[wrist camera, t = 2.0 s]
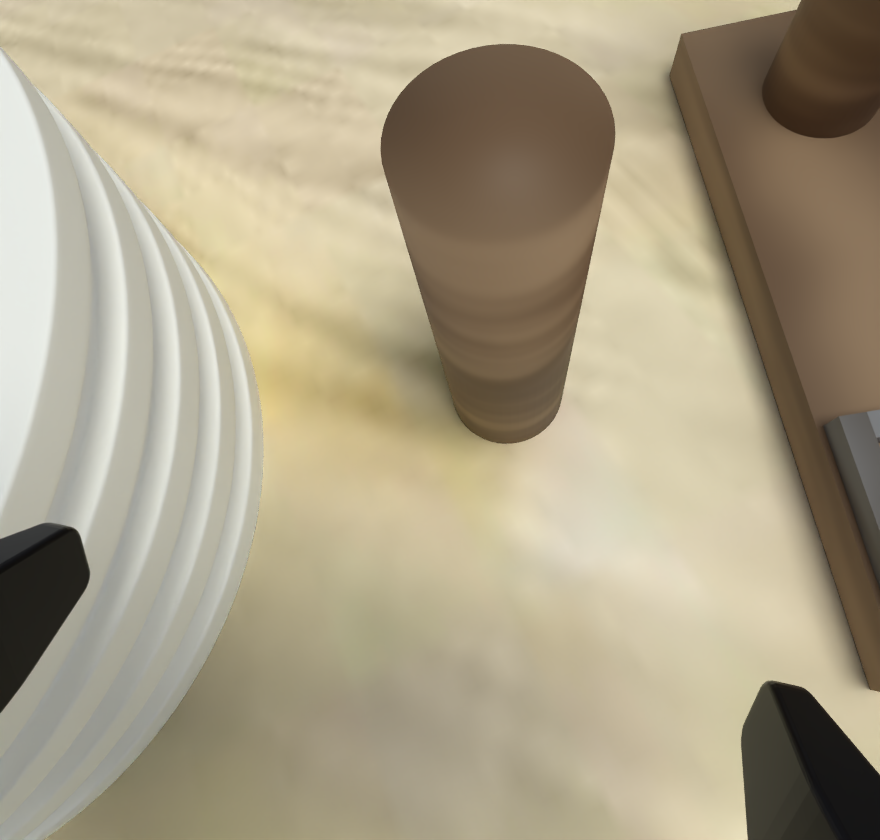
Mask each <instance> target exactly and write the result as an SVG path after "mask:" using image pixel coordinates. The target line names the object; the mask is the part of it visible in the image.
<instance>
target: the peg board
mask: <svg viewBox="0 0 880 840" xmlns="http://www.w3.org/2000/svg"><path fill="white" fill-rule="evenodd" d="M670 79H671V82H672V85H673V88H674V91H675V94H676V97H677V100H678V103H679V106H680V109H681V112H682V115H683V118H684V121H685V125H686V128H687V131H688V134H689V137H690V140H691V143H692V146H693V149H694V152H695V155H696V158H697V161H698V164H699V167H700V170H701V173H702V177H703V180H704V183H705V186H706V189H707V192H708V195H709V198H710V201H711V204H712V207H713V210H714V213H715V216H716V219H717V222H718V225H719V229H720V232H721V235H722V238H723V241H724V244H725V247H726V250H727V253H728V256H729V259H730V262H731V265H732V268H733V271H734V274H735V277H736V281H737V284H738V287H739V290H740V293H741V296H742V299H743V302H744V305H745V308H746V311H747V314H748V317H749V320H750V323H751V326H752V329H753V333H754V336H755V339H756V342H757V345H758V348H759V351H760V354H761V357H762V360H763V363H764V366H765V369H766V372H767V375H768V378H769V381H770V385H771V388H772V391H773V394H774V397H775V400H776V403H777V406H778V409H779V412H780V415H781V418H782V421H783V424H784V427H785V430H786V433H787V437H788V440H789V443H790V446H791V449H792V452H793V455H794V458H795V461H796V464H797V467H798V470H799V473H800V476H801V479H802V482H803V485H804V489H805V492H806V495H807V498H808V501H809V504H810V507H811V510H812V513H813V516H814V519H815V522H816V525H817V528H818V531H819V534H820V537H821V541H822V544H823V547H824V550H825V553H826V556H827V559H828V562H829V565H830V568H831V571H832V574H833V577H834V580H835V583H836V586H837V589H838V593H839V596H840V599H841V602H842V605H843V608H844V611H845V614H846V617H847V620H848V623H849V626H850V629H851V632H852V635H853V638H854V642H855V645H856V648H857V651H858V654H859V657H860V660H861V663H862V666H863V669H864V672H865V675H866V678H867V681H868V684H869V687H870V690H874V691H879V692H880V0H801V2H800V4H799V6H798V8H797V10H793V11H788V12H784V13H779V14H774V15H769V16H765V17H760V18H755V19H750V20H745V21H741V22H736V23H731V24H726V25H722V26H717V27H712V28H707V29H703V30H698V31H693V32H688V33H683V34H681V37H680V41H679V44H678V48H677V51H676V55H675V58H674V62H673V65H672V69H671V72H670Z"/></svg>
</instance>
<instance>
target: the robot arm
mask: <svg viewBox="0 0 880 840" xmlns="http://www.w3.org/2000/svg"><path fill="white" fill-rule="evenodd" d="M89 579H90V568H89V565H88V561H87V558H86V554H85V550H84V547H83V543H82V539H81V536H80V534H79V532H78V531H77V530H76V529H75V528H73V527H70V526H65V525H61V524H56V523H42V524H39V525H36V526H33V527H31V528H28V529H25V530H23V531H20V532H17V533H15V534H12V535H9V536H7V537H4V538H1V539H0V713H1V712H2V711H3V710H4V708H5V707H6V706H7V705H8V703H9V702H10V701H11V699H12V698H13V697H14V695H15V694H16V693H17V691H18V690H19V689H20V687H21V686H22V685H23V683H24V682H25V680H26V679H27V677H28V676H29V675H30V673H31V672H32V670H33V669H34V667H35V666H36V664H37V663H38V661H39V660H40V658H41V657H42V655H43V654H44V652H45V651H46V649H47V647H48V646H49V644H50V643H51V641H52V640H53V638H54V637H55V635H56V634H57V632H58V631H59V629H60V628H61V626H62V625H63V623H64V622H65V620H66V619H67V617H68V616H69V614H70V613H71V611H72V610H73V608H74V607H75V605H76V604H77V602H78V601H79V599H80V598H81V596H82V594H83V593H84V591H85V590H86V588H87V586H88V583H89ZM741 750H742V764H743V778H744V792H745V806H746V820H747V834H748V840H880V775H879V773H878V772H877V771H876V770H875V769H874V767H873V766H872V765H871V764H870V763H869V762H868V760H867V759H866V758H865V757H864V756H863V754H862V753H861V752H860V751H859V750H858V749H857V747H856V746H855V745H854V744H853V743H852V741H851V740H850V739H849V738H848V737H847V736H846V734H845V733H844V732H843V731H842V730H841V729H840V727H839V726H838V725H837V724H836V723H835V721H834V720H833V719H832V718H831V717H830V716H829V714H828V713H827V712H826V711H825V710H824V708H823V707H822V706H821V705H820V704H819V703H818V701H817V700H816V699H815V698H814V697H813V696H812V694H811V693H810V692H808V691H807V690H806V689H804V688H802V687H799V686H795V685H790V684H786V683H781V682H777V681H767V682H765V683H764V684H763V685H762V686H761V688H760V690H759V692H758V694H757V696H756V699H755V701H754V703H753V705H752V707H751V709H750V712H749V714H748V716H747V718H746V720H745V723H744V725H743V729H742V736H741Z"/></svg>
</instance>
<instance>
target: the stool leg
mask: <svg viewBox="0 0 880 840" xmlns="http://www.w3.org/2000/svg"><path fill="white" fill-rule="evenodd" d="M614 143H615V124H614V118H613V114H612V110H611V107H610V105H609V102H608V100H607V98H606V96H605V94H604V93H603V91H602V90H601V88H600V86H599V85H598V84H597V83H596V82H595V80H594V79H593V78H592V77H591V76H590V75H589V74H588V73H587V72H585V71H584V70H583V69H582V68H581V67H579V66H578V65H576V64H575V63H573V62H572V61H570V60H569V59H566V58H564V57H562V56H560V55H558V54H556V53H553V52H550V51H547V50H545V49H541V48H536V47H532V46H525V45H516V44H498V45H488V46H482V47H477V48H472V49H468V50H465V51H462V52H459V53H456V54H454V55H451V56H449V57H446V58H444V59H442V60H441V61H439V62H437V63H435V64H433V65H432V66H430V67H429V68H427V69H426V70H424V71H423V72H422V73H420V74H419V75H418V76H417V77H416V78H415V79H413V80H412V81H411V82H410V83H409V84H408V85H407V86H406V88H405V89H404V90H403V91H402V92H401V93H400V95H399V96H398V98H397V99H396V101H395V102H394V104H393V105H392V107H391V109H390V111H389V113H388V115H387V118H386V121H385V124H384V127H383V132H382V137H381V158H382V165H383V168H384V172H385V176H386V179H387V182H388V186H389V189H390V192H391V196H392V199H393V202H394V206H395V209H396V212H397V216H398V219H399V222H400V226H401V229H402V232H403V236H404V239H405V242H406V246H407V249H408V252H409V255H410V259H411V262H412V265H413V269H414V272H415V275H416V279H417V282H418V285H419V289H420V292H421V295H422V299H423V302H424V305H425V309H426V312H427V315H428V319H429V322H430V325H431V329H432V332H433V335H434V339H435V342H436V345H437V349H438V352H439V355H440V359H441V362H442V365H443V369H444V372H445V375H446V379H447V382H448V385H449V389H450V392H451V395H452V399H453V402H454V405H455V409H456V411H457V413H458V415H459V417H460V419H461V420H462V422H463V423H464V424H465V425H466V426H467V427H468V428H469V429H470V430H471V431H472V432H473V433H475V434H476V435H478V436H480V437H482V438H484V439H486V440H489V441H492V442H497V443H517V442H521V441H525V440H528V439H530V438H532V437H534V436H536V435H538V434H539V433H541V432H542V431H543V430H544V429H546V427H547V426H548V425H549V424H550V423H551V422H552V421H553V419H554V418H555V416H556V414H557V412H558V410H559V407H560V403H561V399H562V394H563V390H564V385H565V380H566V375H567V370H568V366H569V361H570V356H571V351H572V346H573V342H574V337H575V332H576V327H577V322H578V318H579V313H580V308H581V303H582V299H583V294H584V289H585V284H586V279H587V275H588V270H589V265H590V260H591V255H592V251H593V246H594V241H595V236H596V231H597V227H598V222H599V217H600V212H601V208H602V203H603V198H604V193H605V188H606V184H607V179H608V174H609V169H610V164H611V160H612V155H613V150H614Z"/></svg>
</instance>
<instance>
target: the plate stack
mask: <svg viewBox="0 0 880 840" xmlns="http://www.w3.org/2000/svg"><path fill="white" fill-rule="evenodd" d="M263 457H264V444H263V421H262V412H261V403H260V397H259V391H258V385H257V381H256V376H255V372H254V368H253V364H252V361H251V357H250V354H249V351H248V348H247V345H246V342H245V340H244V337H243V335H242V332H241V330H240V327H239V325H238V323H237V321H236V319H235V317H234V315H233V313H232V311H231V309H230V307H229V305H228V304H227V302H226V300H225V299H224V297H223V295H222V294H221V292H220V291H219V289H218V288H217V286H216V285H215V283H214V282H213V281H212V279H211V278H210V277H209V275H208V274H207V273H206V272H205V270H204V269H203V268H202V267H201V266H200V265H199V263H198V262H197V261H196V260H195V259H194V258H193V257H192V256H191V255H190V253H189V252H188V251H187V250H186V249H185V248H184V247H183V246H182V245H181V244H180V243H179V242H178V241H177V240H176V239H175V238H174V237H173V235H172V234H171V233H170V232H169V231H168V230H167V228H166V227H165V226H164V225H163V224H162V223H161V222H160V221H159V220H158V218H157V217H156V216H155V215H154V214H153V213H152V212H151V211H150V210H149V209H148V208H147V207H146V206H145V205H144V204H143V203H142V202H141V201H140V200H139V199H138V198H137V196H136V195H135V194H134V193H133V191H132V190H131V189H130V188H129V187H128V186H127V185H126V184H125V182H124V181H123V180H122V179H121V178H120V177H119V176H118V175H117V174H116V172H115V171H114V170H113V169H112V168H111V167H110V166H109V165H108V164H107V163H106V162H105V161H104V159H103V158H101V157H100V156H99V155H98V154H97V153H96V152H95V151H94V150H93V149H92V148H91V147H90V145H89V144H88V143H87V141H86V140H85V139H84V138H83V137H82V136H81V134H80V133H79V132H78V131H77V130H76V129H75V128H74V127H73V125H72V124H71V123H70V122H69V121H68V120H67V119H66V118H65V117H64V116H63V114H62V113H61V112H60V111H59V110H58V109H57V108H56V107H55V106H54V105H53V104H52V102H51V101H50V100H49V99H48V98H47V97H46V96H45V95H44V94H43V93H42V92H40V91H39V90H38V89H37V88H36V87H35V86H34V85H33V84H32V83H31V82H30V80H29V79H28V78H27V76H26V75H25V74H24V73H23V71H22V70H21V69H20V68H19V67H18V65H17V64H16V63H15V62H14V61H13V60H12V59H11V58H10V57H9V55H8V54H7V53H6V52H5V51H4V50H3V49H2V48H1V47H0V539H1V538H4V537H7V536H9V535H12V534H15V533H17V532H20V531H23V530H25V529H28V528H31V527H33V526H36V525H39V524H42V523H56V524H61V525H65V526H70V527H73V528H75V529H76V530H77V531H78V532H79V534H80V536H81V539H82V543H83V547H84V550H85V554H86V558H87V561H88V565H89V568H90V579H89V583H88V586H87V588H86V590H85V591H84V593H83V594H82V596H81V598H80V599H79V601H78V602H77V604H76V605H75V607H74V608H73V610H72V611H71V613H70V614H69V616H68V617H67V619H66V620H65V622H64V623H63V625H62V626H61V628H60V629H59V631H58V632H57V634H56V635H55V637H54V638H53V640H52V641H51V643H50V644H49V646H48V647H47V649H46V651H45V652H44V654H43V655H42V657H41V658H40V660H39V661H38V663H37V664H36V666H35V667H34V669H33V670H32V672H31V673H30V675H29V676H28V677H27V679H26V680H25V682H24V683H23V685H22V686H21V687H20V689H19V690H18V691H17V693H16V694H15V695H14V697H13V698H12V699H11V701H10V702H9V703H8V705H7V706H6V707H5V708H4V710H3V711H2V712H1V713H0V840H44V839H45V838H47V837H48V836H50V835H51V834H52V833H54V832H55V831H57V830H58V829H59V828H61V827H62V826H63V825H65V824H66V823H67V822H69V821H70V820H71V819H73V818H74V817H75V816H76V815H78V814H79V813H80V812H81V811H82V810H84V809H85V808H86V807H87V806H88V805H90V804H91V803H92V802H93V801H94V800H95V799H96V798H97V797H99V796H100V795H101V794H102V793H103V792H104V791H105V790H106V789H107V788H108V787H109V786H110V785H111V784H112V783H113V782H114V781H115V780H116V779H117V778H118V777H119V776H120V775H121V774H122V773H123V772H124V771H125V770H126V769H127V768H128V767H129V766H130V765H131V764H132V763H133V762H134V761H135V759H136V758H137V757H138V756H139V755H140V754H141V753H142V752H143V750H144V749H145V748H146V747H147V746H148V744H149V743H150V742H151V741H152V740H153V739H154V737H155V736H156V735H157V733H158V732H159V731H160V730H161V728H162V727H163V726H164V724H165V723H166V722H167V720H168V719H169V718H170V716H171V715H172V714H173V712H174V711H175V709H176V708H177V706H178V705H179V704H180V702H181V701H182V699H183V698H184V696H185V695H186V693H187V691H188V690H189V688H190V687H191V685H192V684H193V682H194V680H195V679H196V677H197V675H198V674H199V672H200V670H201V668H202V667H203V665H204V663H205V661H206V659H207V658H208V656H209V654H210V652H211V650H212V648H213V646H214V644H215V642H216V640H217V638H218V636H219V634H220V632H221V630H222V628H223V625H224V623H225V621H226V619H227V616H228V614H229V611H230V609H231V607H232V604H233V602H234V599H235V596H236V594H237V591H238V588H239V585H240V582H241V579H242V576H243V573H244V570H245V567H246V564H247V560H248V556H249V553H250V549H251V545H252V541H253V536H254V532H255V528H256V522H257V517H258V511H259V504H260V497H261V489H262V477H263Z"/></svg>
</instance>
